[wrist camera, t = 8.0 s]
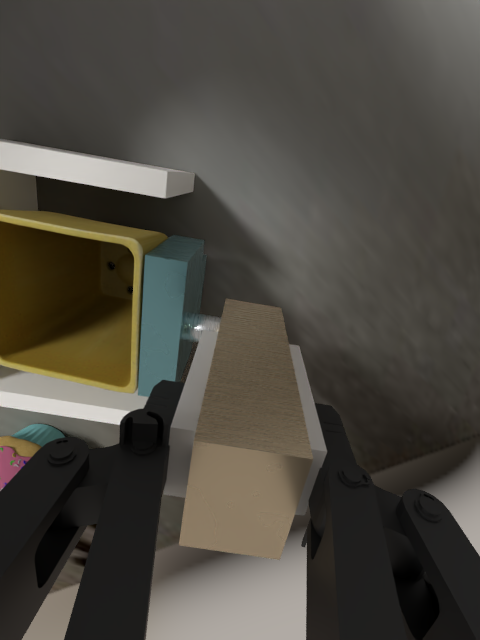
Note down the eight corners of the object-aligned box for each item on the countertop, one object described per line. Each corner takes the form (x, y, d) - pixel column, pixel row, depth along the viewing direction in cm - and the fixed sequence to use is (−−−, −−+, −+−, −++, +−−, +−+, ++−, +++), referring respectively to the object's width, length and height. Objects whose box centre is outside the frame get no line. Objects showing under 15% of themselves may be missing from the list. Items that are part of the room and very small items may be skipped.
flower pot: (78, 310, 27) (-12, 365, 19) (74, 198, 24) (-38, 206, 16) (182, 331, 27) (136, 397, 19) (193, 220, 23) (142, 240, 15)
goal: (11, 140, 23) (-107, 122, 15) (194, 173, 23) (167, 171, 16) (29, 341, 29) (-48, 398, 21) (175, 365, 29) (148, 429, 22)
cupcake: (93, 422, 32) (8, 552, 21) (82, 483, 35) (4, 624, 24) (1, 397, 31) (-137, 519, 20) (-1, 462, 34) (-121, 597, 23)
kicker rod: (181, 229, 23) (22, 342, 7) (279, 246, 24) (335, 393, 8) (171, 331, 27) (46, 567, 10) (258, 345, 27) (266, 598, 11)
